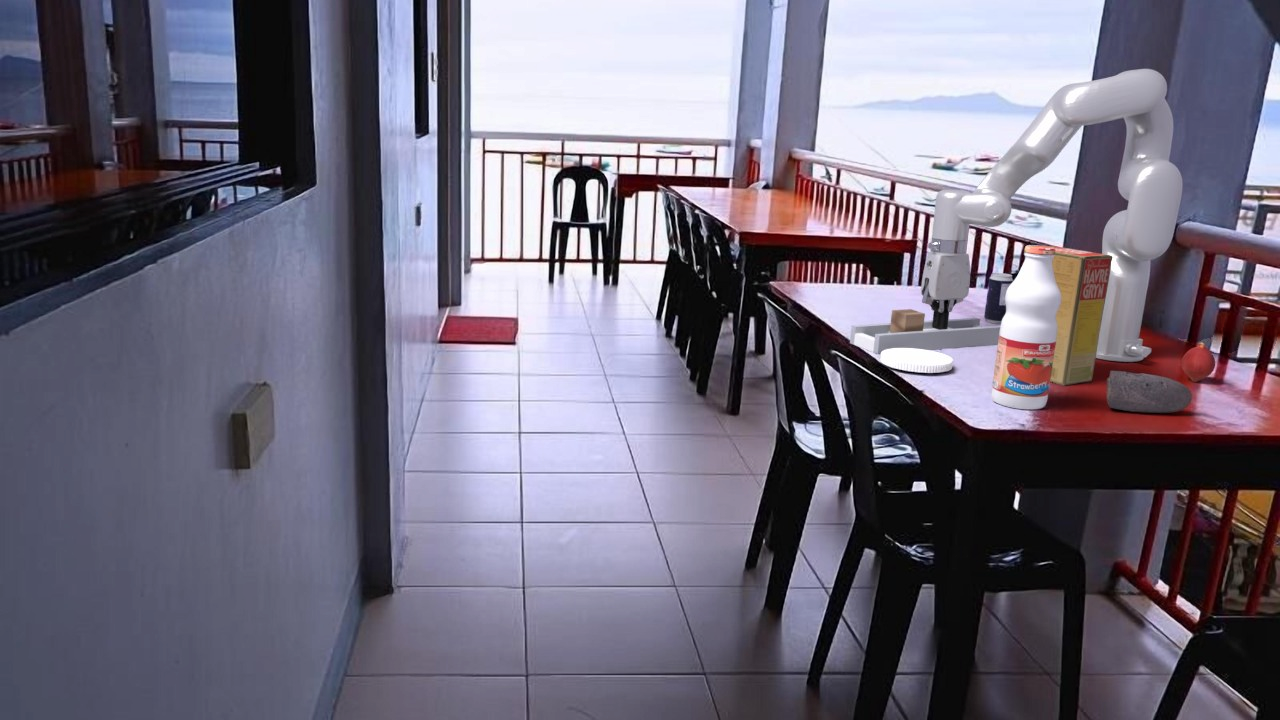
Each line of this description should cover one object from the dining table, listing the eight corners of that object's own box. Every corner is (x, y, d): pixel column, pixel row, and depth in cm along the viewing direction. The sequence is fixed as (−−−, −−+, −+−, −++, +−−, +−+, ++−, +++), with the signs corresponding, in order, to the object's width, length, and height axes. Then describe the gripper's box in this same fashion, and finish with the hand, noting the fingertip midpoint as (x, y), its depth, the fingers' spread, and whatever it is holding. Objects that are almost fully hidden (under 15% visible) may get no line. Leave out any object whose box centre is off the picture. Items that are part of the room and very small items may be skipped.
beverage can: (1004, 320, 243) (1010, 273, 240) (1010, 324, 238) (1016, 277, 235) (981, 318, 244) (987, 272, 241) (986, 323, 238) (993, 275, 235)
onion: (1181, 375, 195) (1188, 337, 193) (1213, 381, 191) (1221, 342, 189) (1175, 381, 190) (1182, 342, 188) (1208, 387, 187) (1216, 347, 185)
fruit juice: (1026, 394, 177) (1048, 243, 170) (1057, 410, 168) (1082, 251, 161) (980, 395, 175) (1000, 242, 168) (1009, 411, 166) (1031, 250, 159)
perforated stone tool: (1183, 410, 171) (1190, 373, 169) (1195, 419, 166) (1202, 381, 164) (1094, 404, 173) (1100, 366, 171) (1103, 412, 168) (1110, 374, 166)
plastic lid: (959, 367, 196) (961, 355, 195) (939, 381, 185) (941, 369, 184) (893, 356, 203) (894, 344, 203) (869, 369, 192) (871, 357, 191)
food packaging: (1094, 381, 188) (1115, 254, 182) (1063, 386, 184) (1083, 256, 177) (1037, 364, 199) (1055, 245, 193) (1006, 369, 195) (1023, 246, 188)
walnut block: (922, 335, 210) (924, 313, 209) (903, 337, 208) (906, 314, 207) (908, 331, 215) (910, 309, 214) (889, 332, 213) (892, 310, 212)
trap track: (1004, 344, 217) (1007, 326, 216) (877, 354, 203) (879, 335, 202) (973, 334, 226) (975, 317, 225) (849, 343, 212) (851, 325, 211)
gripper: (933, 250, 204) (924, 334, 208) (987, 248, 210) (977, 330, 214) (910, 245, 210) (901, 327, 215) (963, 243, 216) (954, 323, 221)
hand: (939, 328), depth 215 cm, fingers closed
